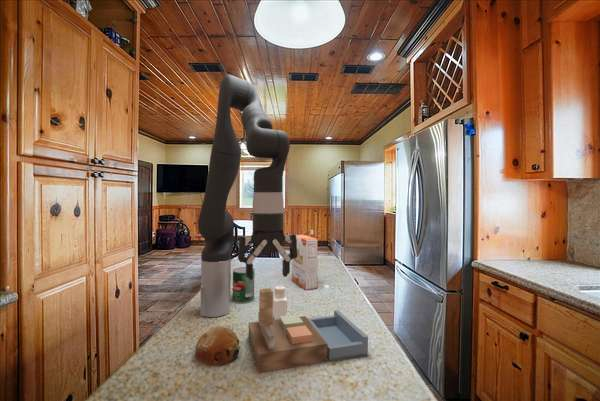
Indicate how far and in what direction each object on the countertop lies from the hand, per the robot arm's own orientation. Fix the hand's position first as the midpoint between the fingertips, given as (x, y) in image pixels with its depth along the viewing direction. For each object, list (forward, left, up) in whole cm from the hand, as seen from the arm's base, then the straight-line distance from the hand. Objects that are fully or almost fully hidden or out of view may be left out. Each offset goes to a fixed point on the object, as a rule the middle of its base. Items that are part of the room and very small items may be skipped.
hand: (268, 277), depth 71 cm
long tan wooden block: (0, 0, -14) cm, 14 cm away
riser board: (+5, 0, -18) cm, 19 cm away
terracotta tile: (+7, -4, -14) cm, 16 cm away
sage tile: (+7, +3, -14) cm, 16 cm away
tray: (+18, 0, -18) cm, 26 cm away
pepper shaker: (+8, +18, -18) cm, 27 cm away
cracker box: (+26, +48, -18) cm, 57 cm away
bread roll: (-11, +2, -19) cm, 22 cm away
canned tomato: (-1, +37, -18) cm, 41 cm away
